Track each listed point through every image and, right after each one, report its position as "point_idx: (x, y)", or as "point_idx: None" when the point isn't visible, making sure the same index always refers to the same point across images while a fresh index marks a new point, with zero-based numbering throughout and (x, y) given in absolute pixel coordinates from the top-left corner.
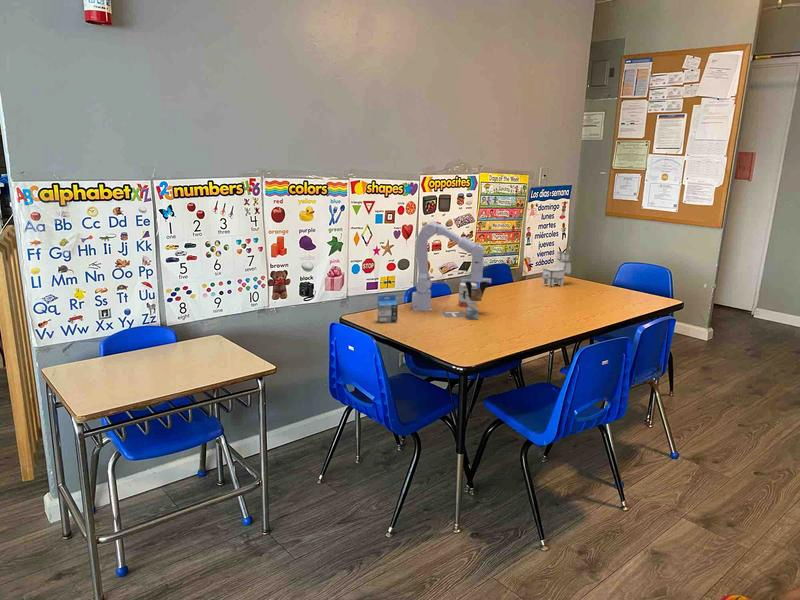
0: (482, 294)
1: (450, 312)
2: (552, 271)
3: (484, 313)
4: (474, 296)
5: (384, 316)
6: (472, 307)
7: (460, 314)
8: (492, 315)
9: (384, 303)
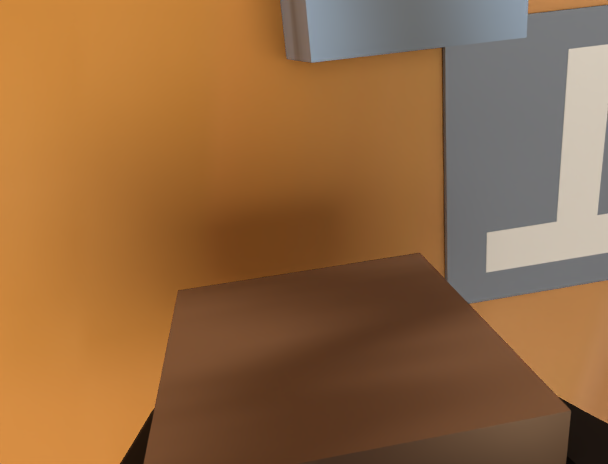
0: (133, 455)
1: (596, 242)
2: None
3: (134, 283)
4: (387, 317)
5: None
6: (390, 49)
7: (490, 162)
8: (6, 191)
9: None
